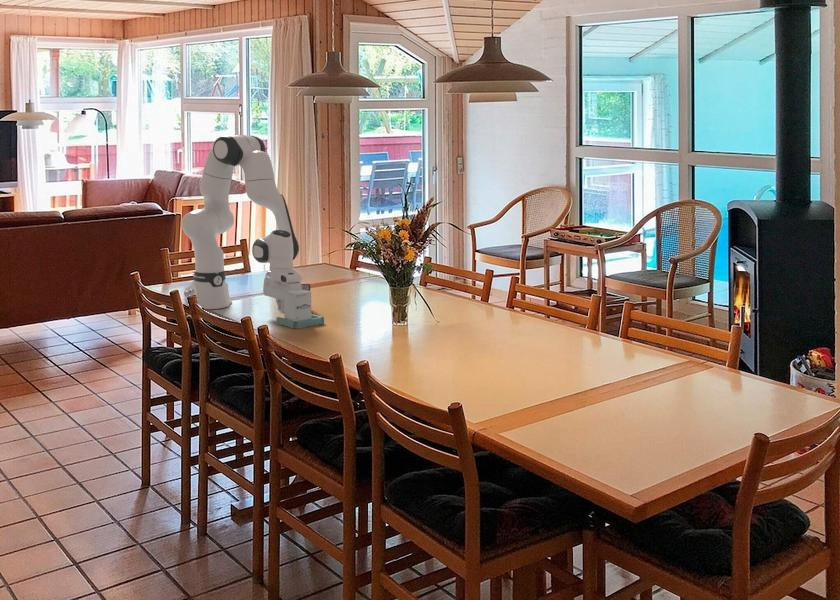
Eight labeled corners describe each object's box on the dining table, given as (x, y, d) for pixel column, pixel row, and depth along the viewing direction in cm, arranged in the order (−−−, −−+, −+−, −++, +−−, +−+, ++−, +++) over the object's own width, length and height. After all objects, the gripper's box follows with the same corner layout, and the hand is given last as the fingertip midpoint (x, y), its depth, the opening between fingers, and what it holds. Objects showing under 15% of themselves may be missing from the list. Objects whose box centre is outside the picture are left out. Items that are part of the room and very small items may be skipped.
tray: (276, 323, 343) (276, 317, 343) (305, 318, 352) (305, 312, 352) (295, 329, 335) (294, 322, 335) (324, 323, 344) (324, 317, 343)
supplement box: (295, 328, 337) (294, 293, 334) (283, 324, 342) (283, 290, 340) (312, 325, 341) (311, 291, 339) (300, 322, 347) (300, 288, 344)
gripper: (258, 271, 353) (259, 307, 356) (290, 279, 339) (290, 316, 341) (272, 269, 357) (273, 305, 360) (304, 277, 343) (304, 314, 346)
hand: (282, 310), depth 351 cm, fingers closed
